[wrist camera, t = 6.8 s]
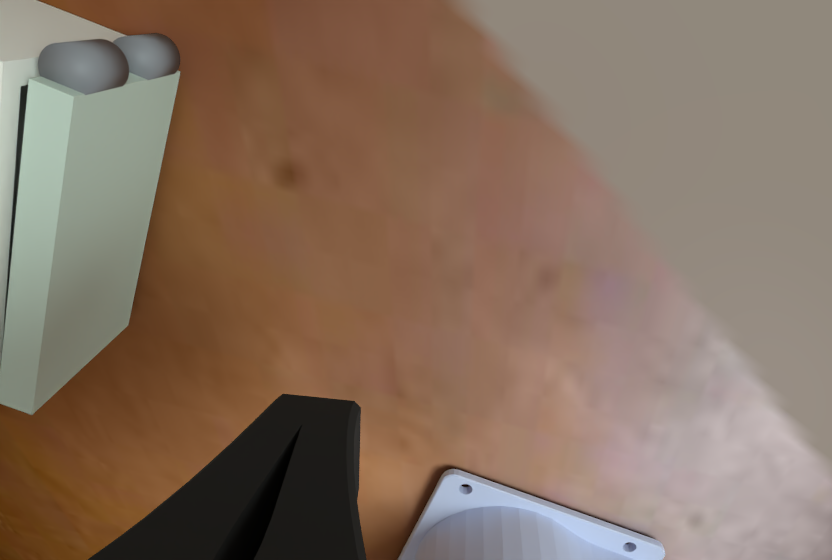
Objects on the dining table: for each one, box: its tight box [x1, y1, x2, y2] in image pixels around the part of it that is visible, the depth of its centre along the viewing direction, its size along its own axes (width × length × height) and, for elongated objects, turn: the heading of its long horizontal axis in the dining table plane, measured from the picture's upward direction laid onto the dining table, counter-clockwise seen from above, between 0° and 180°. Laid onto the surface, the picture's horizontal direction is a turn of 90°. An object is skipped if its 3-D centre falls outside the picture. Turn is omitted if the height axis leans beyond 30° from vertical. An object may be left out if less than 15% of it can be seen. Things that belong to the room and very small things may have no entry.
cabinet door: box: [0, 33, 180, 415], centre depth 17 cm, size 1×10×5 cm, turn 159°
